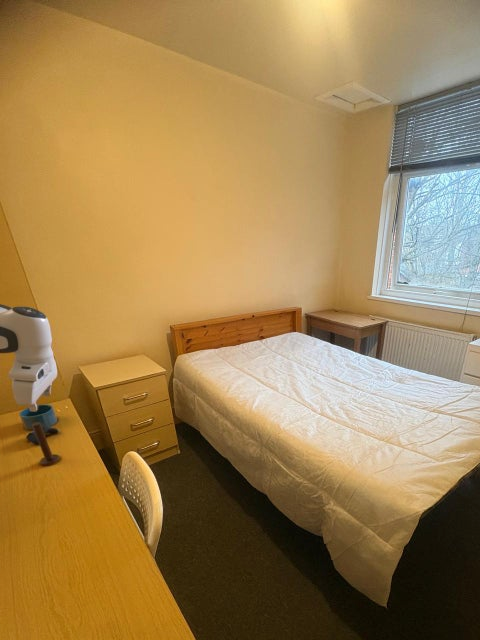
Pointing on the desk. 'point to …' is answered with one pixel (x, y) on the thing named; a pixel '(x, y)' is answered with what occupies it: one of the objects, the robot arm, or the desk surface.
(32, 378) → the robot arm
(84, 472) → the desk surface
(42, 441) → the brown post with base
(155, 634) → the desk surface
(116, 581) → the desk surface
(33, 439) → the gaming controller
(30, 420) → the bowl
